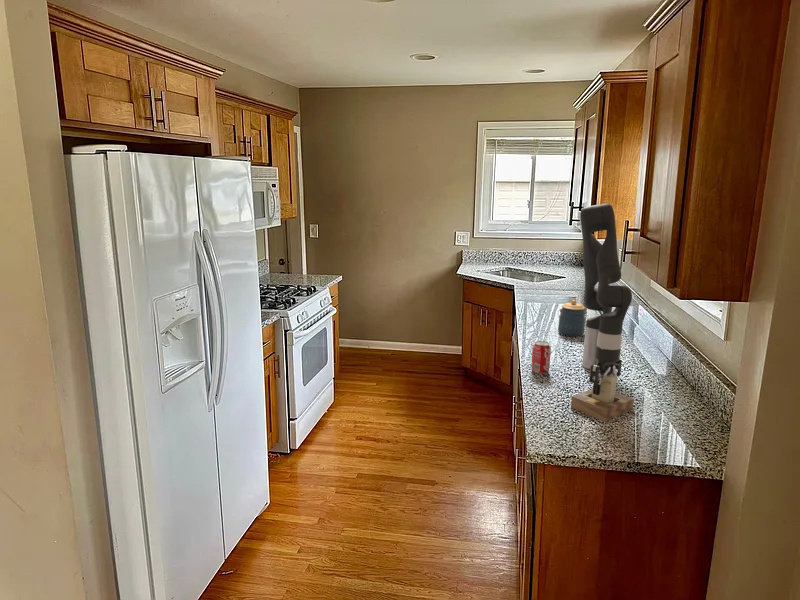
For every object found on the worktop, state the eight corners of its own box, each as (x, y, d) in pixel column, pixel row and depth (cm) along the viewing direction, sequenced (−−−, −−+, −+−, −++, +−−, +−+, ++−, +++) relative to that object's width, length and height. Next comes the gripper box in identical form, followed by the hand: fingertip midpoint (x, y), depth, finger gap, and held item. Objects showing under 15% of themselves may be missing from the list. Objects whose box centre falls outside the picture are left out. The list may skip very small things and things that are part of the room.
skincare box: (589, 407, 182) (593, 373, 179) (596, 403, 185) (599, 370, 182) (607, 413, 177) (611, 378, 175) (613, 409, 180) (617, 375, 178)
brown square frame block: (598, 397, 190) (599, 386, 189) (632, 409, 180) (634, 398, 179) (570, 407, 181) (571, 395, 180) (605, 421, 171) (606, 409, 170)
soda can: (549, 369, 218) (551, 341, 215) (548, 375, 211) (551, 346, 208) (531, 367, 219) (533, 339, 217) (530, 373, 213) (532, 344, 210)
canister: (579, 339, 263) (582, 304, 259) (553, 334, 270) (556, 300, 266) (587, 333, 273) (591, 299, 269) (563, 329, 280) (566, 296, 277)
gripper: (610, 339, 183) (606, 383, 186) (585, 345, 175) (581, 392, 178) (631, 344, 177) (625, 390, 180) (606, 351, 169) (601, 400, 172)
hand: (603, 391), depth 179 cm, fingers open, 8 cm apart
